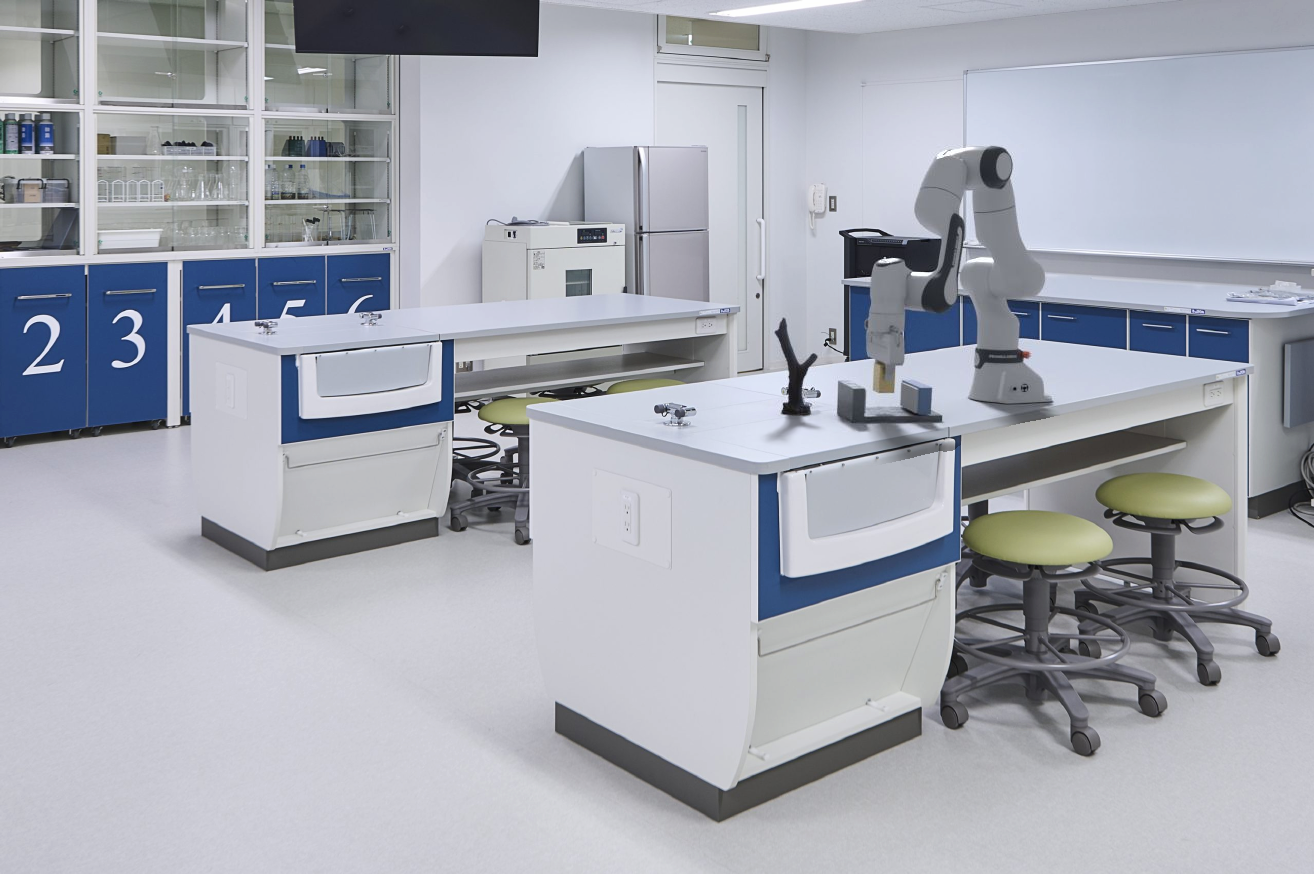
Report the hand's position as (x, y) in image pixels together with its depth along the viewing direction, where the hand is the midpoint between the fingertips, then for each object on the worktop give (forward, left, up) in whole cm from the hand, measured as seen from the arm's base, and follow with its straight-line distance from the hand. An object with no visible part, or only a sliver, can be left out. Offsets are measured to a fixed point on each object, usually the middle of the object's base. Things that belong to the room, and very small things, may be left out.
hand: (884, 379), depth 302 cm
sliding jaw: (-8, 0, -8) cm, 11 cm away
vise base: (-2, 0, -10) cm, 10 cm away
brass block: (0, 0, -3) cm, 3 cm away
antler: (+21, -7, -10) cm, 25 cm away
